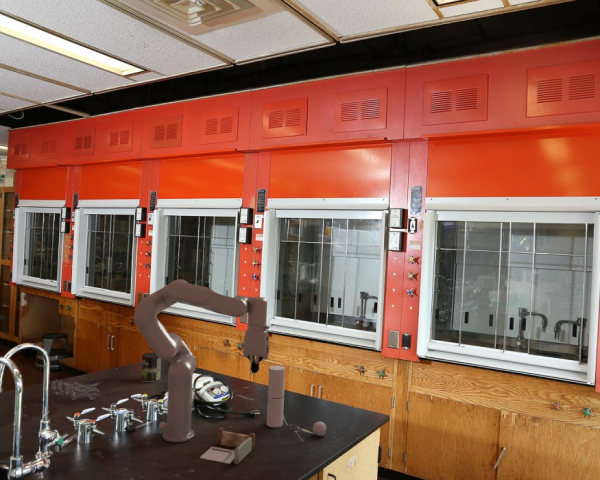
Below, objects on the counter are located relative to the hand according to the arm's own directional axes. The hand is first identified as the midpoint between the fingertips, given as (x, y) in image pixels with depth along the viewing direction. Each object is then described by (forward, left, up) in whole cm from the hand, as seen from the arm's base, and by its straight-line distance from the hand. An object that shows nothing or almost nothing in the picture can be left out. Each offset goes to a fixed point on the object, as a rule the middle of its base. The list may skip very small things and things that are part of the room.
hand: (254, 372), depth 199 cm
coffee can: (-79, +48, -27) cm, 96 cm away
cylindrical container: (+4, +17, -27) cm, 32 cm away
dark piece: (-93, +8, -27) cm, 98 cm away
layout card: (-5, -19, -27) cm, 33 cm away
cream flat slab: (+4, -18, -27) cm, 32 cm away
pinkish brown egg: (+26, +14, -27) cm, 40 cm away
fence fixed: (-3, -10, -27) cm, 29 cm away
